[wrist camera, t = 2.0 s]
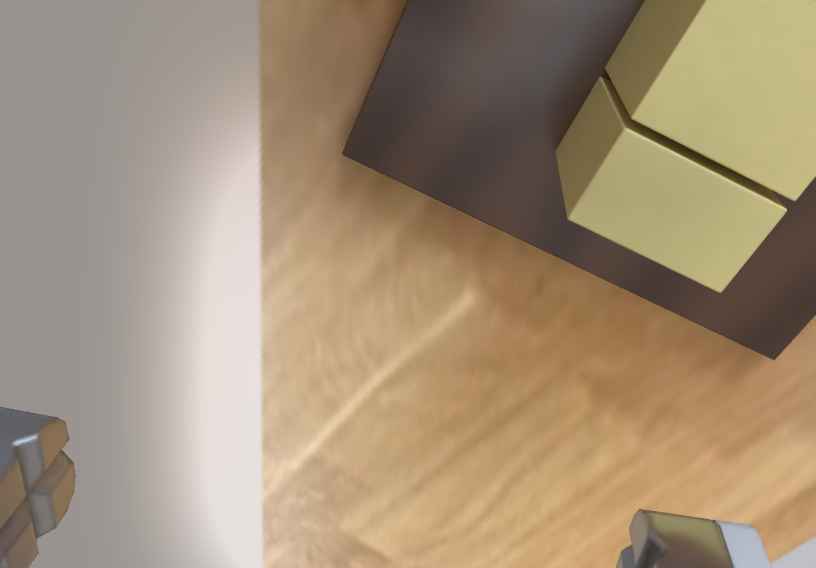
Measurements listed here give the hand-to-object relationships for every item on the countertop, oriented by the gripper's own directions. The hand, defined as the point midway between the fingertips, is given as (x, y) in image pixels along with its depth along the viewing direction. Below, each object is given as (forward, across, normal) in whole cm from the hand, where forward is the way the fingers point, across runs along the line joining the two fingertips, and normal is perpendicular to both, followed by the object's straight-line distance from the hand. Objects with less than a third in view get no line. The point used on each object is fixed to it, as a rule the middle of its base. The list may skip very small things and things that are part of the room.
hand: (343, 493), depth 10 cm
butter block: (+22, -10, -5) cm, 25 cm away
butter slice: (+22, -8, +1) cm, 24 cm away
